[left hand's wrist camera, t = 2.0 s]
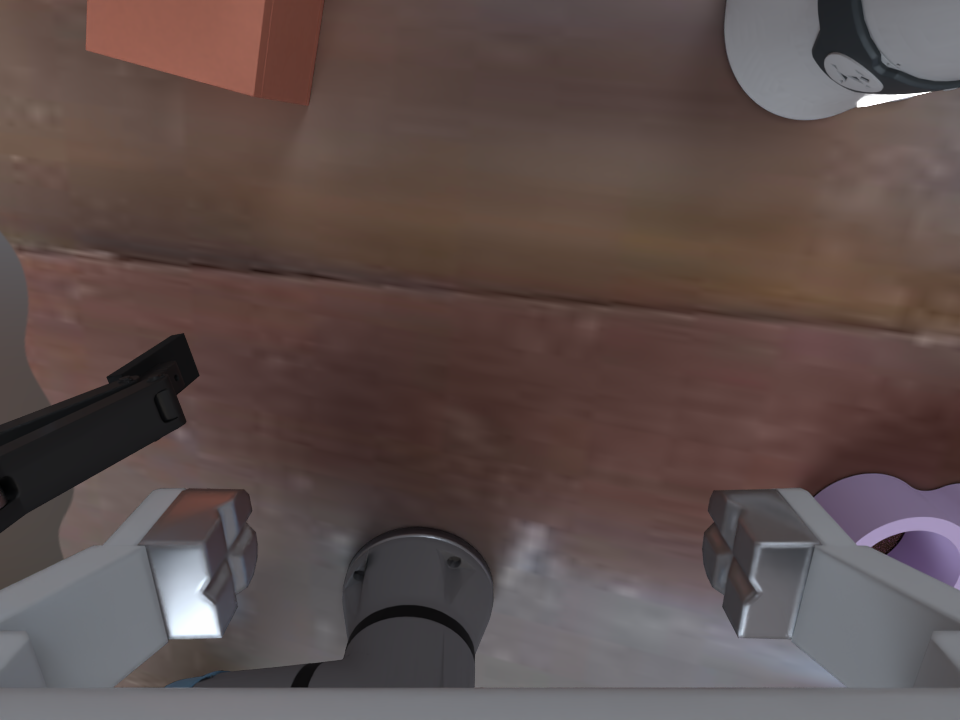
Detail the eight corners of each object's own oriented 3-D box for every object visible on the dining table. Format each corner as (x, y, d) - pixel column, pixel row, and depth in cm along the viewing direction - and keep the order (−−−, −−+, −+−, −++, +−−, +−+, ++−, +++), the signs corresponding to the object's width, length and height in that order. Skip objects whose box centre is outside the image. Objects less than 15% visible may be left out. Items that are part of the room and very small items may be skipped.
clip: (1000, 461, 57) (1068, 503, 50) (976, 567, 61) (1035, 618, 55) (787, 481, 57) (826, 525, 51) (778, 584, 62) (813, 637, 55)
